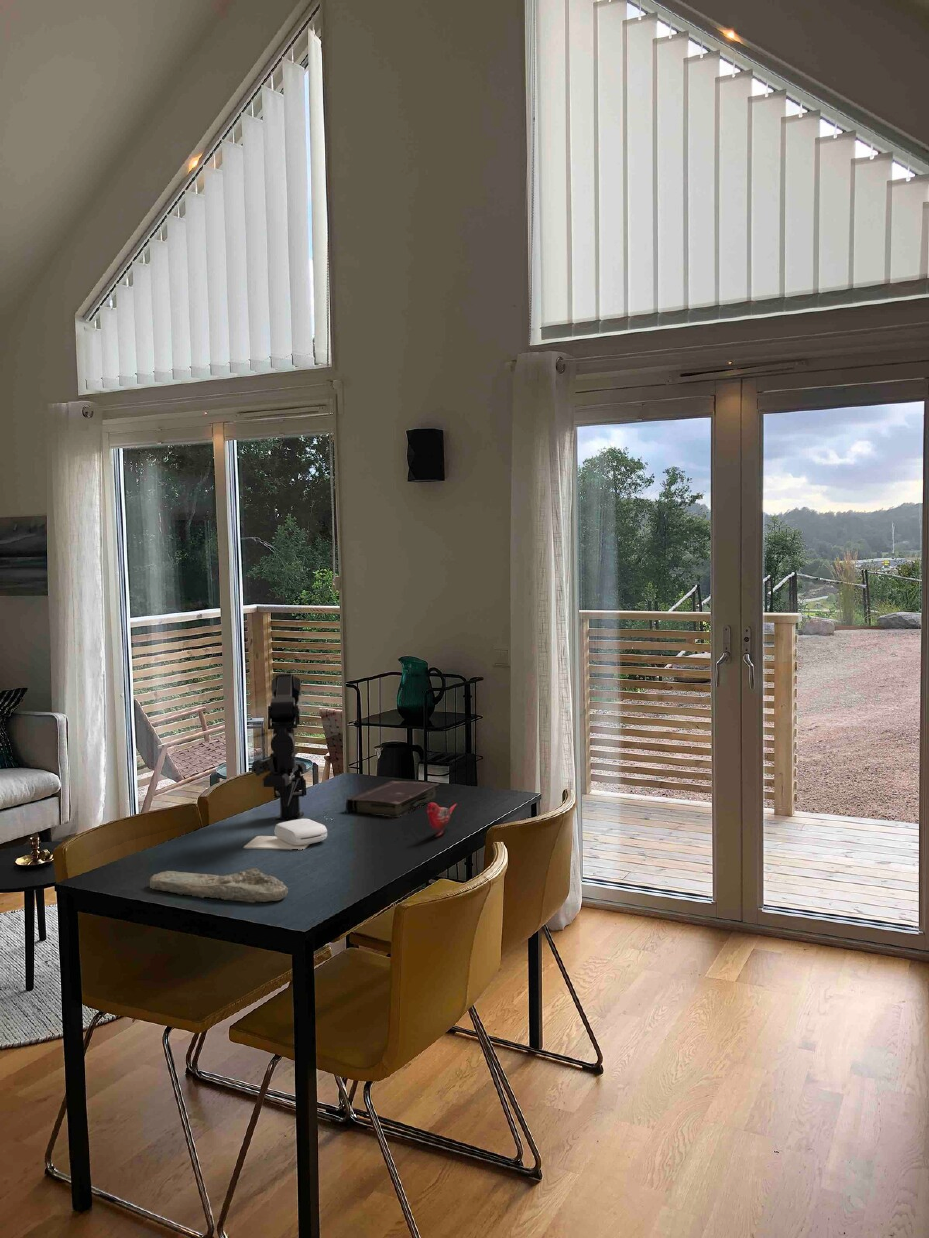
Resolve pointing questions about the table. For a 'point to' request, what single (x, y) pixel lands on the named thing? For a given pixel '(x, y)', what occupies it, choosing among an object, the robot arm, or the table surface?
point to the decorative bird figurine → (439, 816)
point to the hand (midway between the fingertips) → (286, 805)
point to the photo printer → (301, 831)
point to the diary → (392, 798)
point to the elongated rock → (222, 885)
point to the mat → (272, 843)
